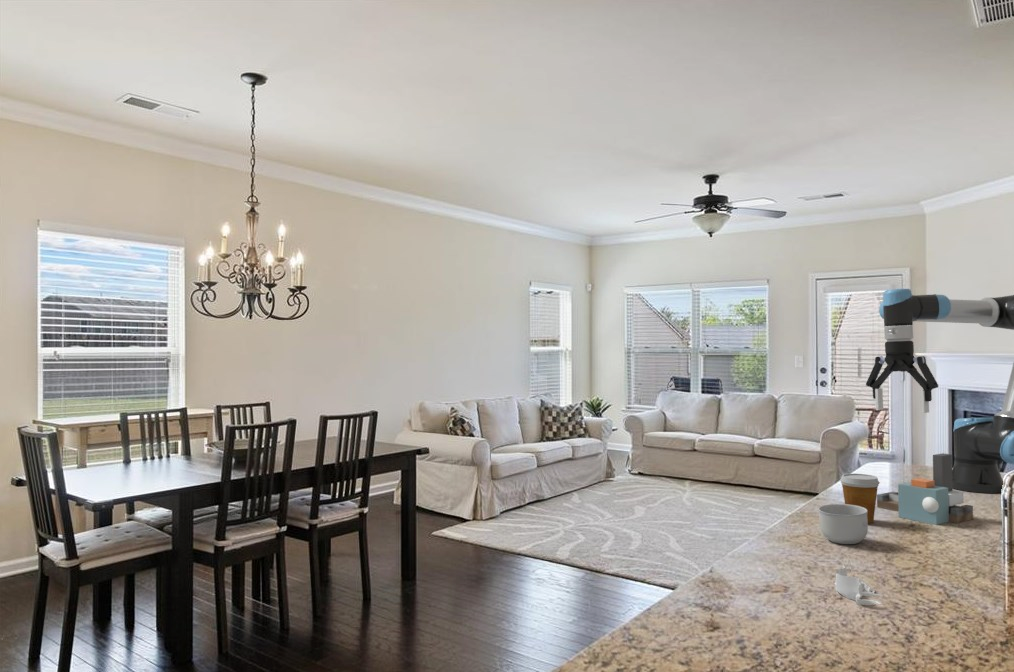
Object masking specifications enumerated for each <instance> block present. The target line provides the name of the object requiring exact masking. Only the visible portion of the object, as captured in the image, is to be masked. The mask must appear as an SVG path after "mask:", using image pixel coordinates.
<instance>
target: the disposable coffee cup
mask: <svg viewBox="0 0 1014 672" xmlns="http://www.w3.org/2000/svg"><path fill="white" fill-rule="evenodd" d="M839 481H840V484H841V485H842V486H841V487H842V493H843V500H844V504H849V505H856V506H860V507H864V508H866V509H867V511H868V513H867V519H868V525H869V524H874V519H875V513H876V512H875V511H876V505H877V495H878V487H879V484H880V481H879V479H878V477H877V476H875V475H872V474H865V473H864V474H863V473H844V474H841V478H840V479H839Z"/></svg>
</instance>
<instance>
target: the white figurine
mask: <svg viewBox="0 0 1014 672" xmlns="http://www.w3.org/2000/svg"><path fill="white" fill-rule="evenodd" d="M846 567H847V566H845V565H844V564H842V568H841V569H840V570H838V571H836V572H835V582H834V583H833V585H835V591H836V592H838V593H839V594H840V595H841V596H843V597H844V598H846V599H849V600H853V601H855V602H856V603H855V604H856V605H857V606H859V605H863V606H875V605H876V604H878V605H882V602H881V601H878V600H872V599H866V598H865V599H863V598H862V597H863V596H864V597H874V598H875V597H876V598H883V597H884V595H883V594H881V593H880V594H879V593H878V590H877V589H875V590H873V589H872V587H870V586H869V585H868V584H867V583H865V582H864V581H861V579H860V578H859V577H856V576H849V575H848V573H847V569H846ZM864 590H865V591H864Z"/></svg>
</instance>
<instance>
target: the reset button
mask: <svg viewBox="0 0 1014 672" xmlns="http://www.w3.org/2000/svg"><path fill="white" fill-rule="evenodd" d="M910 482H911V486H915V487H921V488H931V487H935V484H934V480H933V479H927V478H922V477H920V478H912V479H911V480H910Z"/></svg>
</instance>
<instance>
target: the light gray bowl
mask: <svg viewBox="0 0 1014 672" xmlns="http://www.w3.org/2000/svg"><path fill="white" fill-rule="evenodd" d="M817 510H818V518H819V527H820V532H821V534H822V535H823V536H824V537H825V538H827V539H828V541H830V542H832V543H835V544H840V545H855V544H859V543H860V542H861V541H863V540H864V539H866V537H867V535H868V532H869V531H868V529H869V528H868V526H869V524H868V519H867V513H868V511H867V509H866V508H864V507H860V506H856V505H849V504H845V503H833V502H827V503H826V504H824V505H821V506H819V507H818V509H817Z"/></svg>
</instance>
